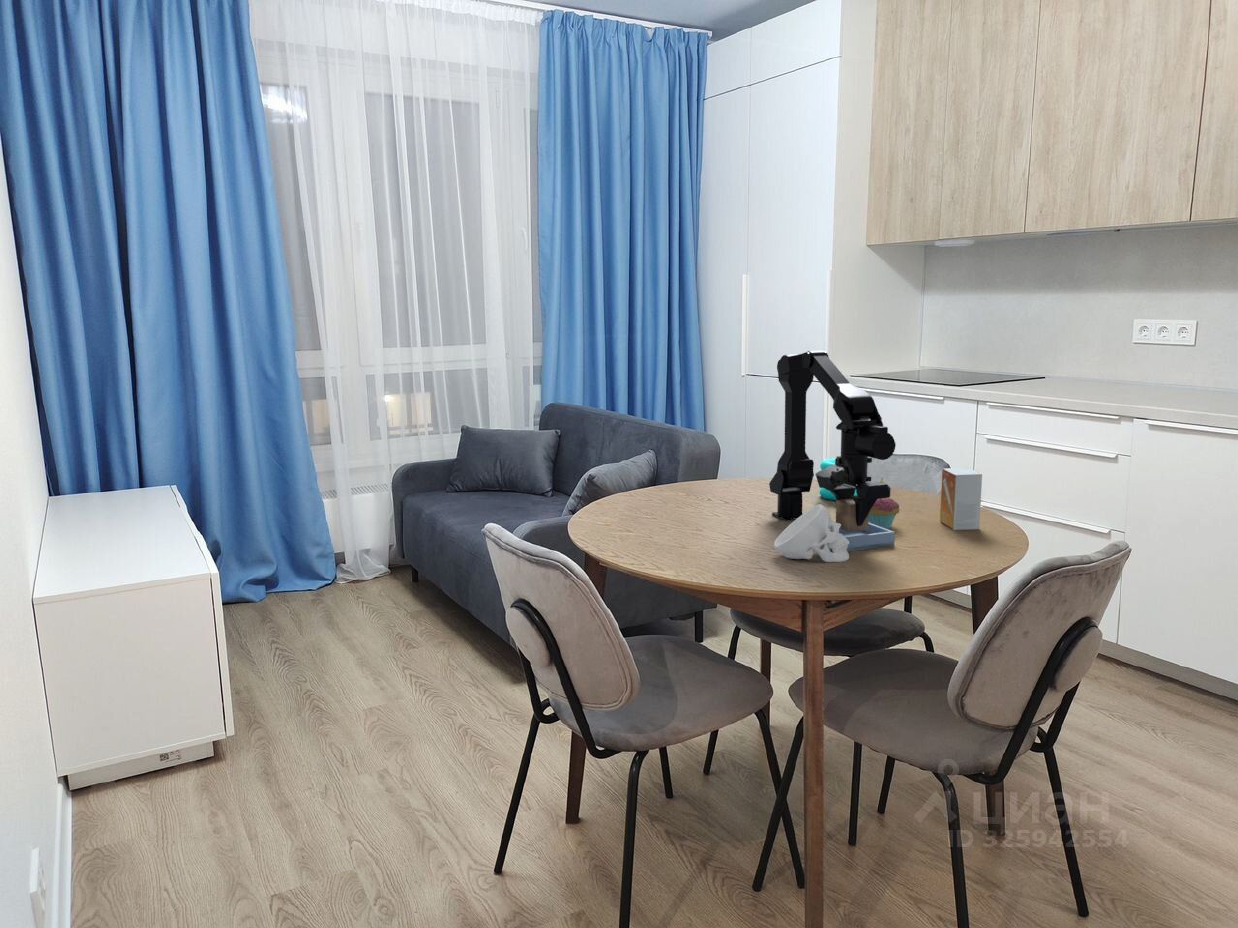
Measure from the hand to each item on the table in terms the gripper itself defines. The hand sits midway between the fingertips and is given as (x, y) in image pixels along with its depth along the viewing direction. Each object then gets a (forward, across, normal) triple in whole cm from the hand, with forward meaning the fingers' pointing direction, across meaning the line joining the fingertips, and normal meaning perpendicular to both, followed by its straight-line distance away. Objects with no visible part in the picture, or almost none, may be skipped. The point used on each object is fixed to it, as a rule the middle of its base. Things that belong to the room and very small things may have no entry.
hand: (852, 522), depth 199 cm
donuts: (+5, -39, +23) cm, 45 cm away
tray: (+4, 0, 0) cm, 4 cm away
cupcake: (+5, -9, +14) cm, 17 cm away
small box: (+5, -2, +31) cm, 31 cm away
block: (+1, 0, 0) cm, 1 cm away
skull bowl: (+5, +6, -14) cm, 16 cm away
